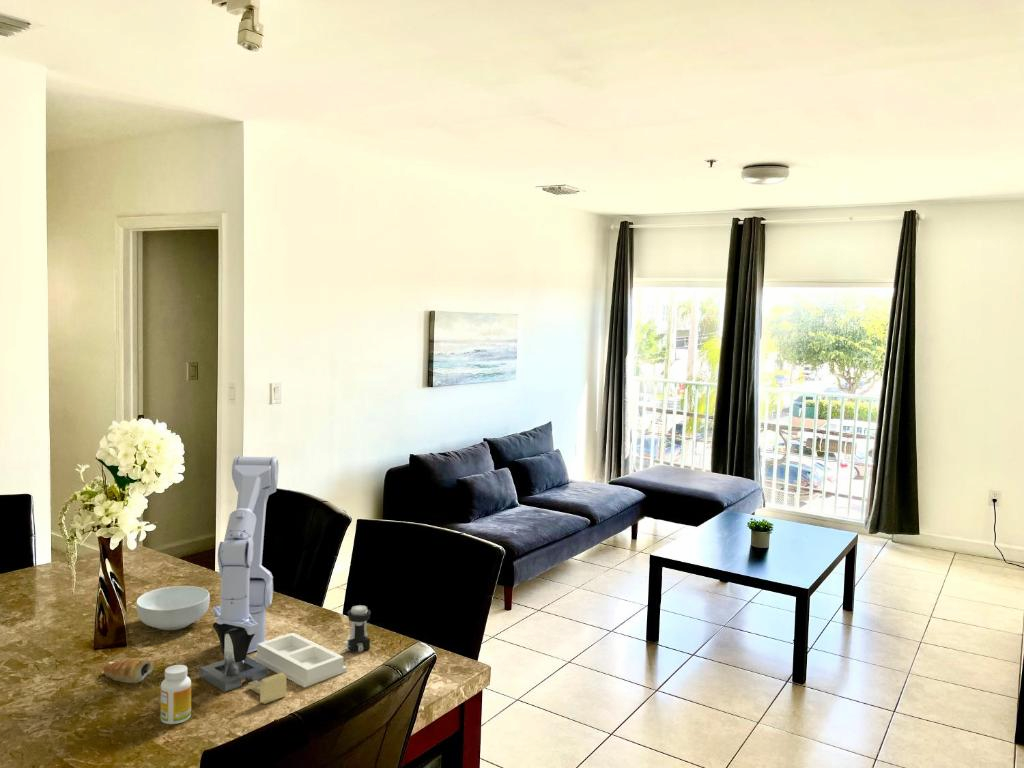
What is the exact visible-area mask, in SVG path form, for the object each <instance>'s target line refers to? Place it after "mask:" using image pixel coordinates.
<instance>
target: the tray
mask: <svg viewBox="0 0 1024 768" xmlns="http://www.w3.org/2000/svg"><path fill="white" fill-rule="evenodd" d="M267 640H268V639H267ZM344 659H345V657H344V656H343V655H341V654H339V653H337V652H335V651H332V650H330V649H328V648H326V647H324V646H322V645H320V644H318V643H316V642H313V641H311V640H309V639H307V638H305V637H303V636H301V635H299V634H297V633H295V632H291V633H290V632H289V633H287V634H284V635H281V636H278V637H274V638H272V639H269V640H268V641H265V642H262V643H259V644H257V651H256V654H255V655H253V660H255V661H257V662H259V663H260V664H262V665H264V666H266V667H267V668H268V670H271V671H273V672H275V673H276V674H278V673H281V672H283V673H285V674H286V679H288V680H290V681H291V680H292V681H291V682H293V681H294V682H293V683H295V684H297V685H299V686H301V687H302V688H306V687H309V686H312V685H315V684H317V683H321V682H322V681H326V680H329V679H331V678H333V677H335V676H338V675H341V674H343V673H346V672H347V671H348V668H347V666H345V665H344V662H345V661H344Z"/></svg>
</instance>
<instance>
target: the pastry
mask: <svg viewBox="0 0 1024 768" xmlns="http://www.w3.org/2000/svg"><path fill="white" fill-rule="evenodd" d="M153 669H154V668H153V664H152V662H151V660H149V659H141V658H136V657H132V658H129V659H125V658H124V659H121V660H119V661H117V660H116V661H114V662H112V663H108V664H106V665H105V666H103V674H104V675H105V677H106V678H108V679H111V680H113V681H114V682H120V683H121V682H122V683H127V684H137V683H139V682H142V681H143V680H144V679H145V678H146V677H147V676H148V675H150V674H151V673H153Z"/></svg>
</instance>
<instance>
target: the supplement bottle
mask: <svg viewBox="0 0 1024 768" xmlns="http://www.w3.org/2000/svg"><path fill="white" fill-rule="evenodd" d="M191 715H192V680H191V677H189V676H188V667H187V665H184V664H174V665H170V666H168V667H166V668H165V670H164V679H163V680H162V681H161V683H160V721H161V722H162V723H164V724H166V725H177V724H182V723H184V722H187V721H188V720H189V719H190V718H191Z"/></svg>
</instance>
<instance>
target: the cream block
mask: <svg viewBox="0 0 1024 768" xmlns="http://www.w3.org/2000/svg"><path fill="white" fill-rule="evenodd" d="M247 687H248V689H250V690H251V691H253V692H255V693H257V694H258V695H259V701H260V703H262V704H263V705H266V704H268V703H271V702H274V701H276V700H279V699H282V698H284V697H286V696H287V678H286V674H285V673H283V672H281V673H276V674H273V675H270V676H268V677H266V678H263V679H261V680H255V681H252V682H251V681H249V682H248V683H247Z"/></svg>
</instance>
